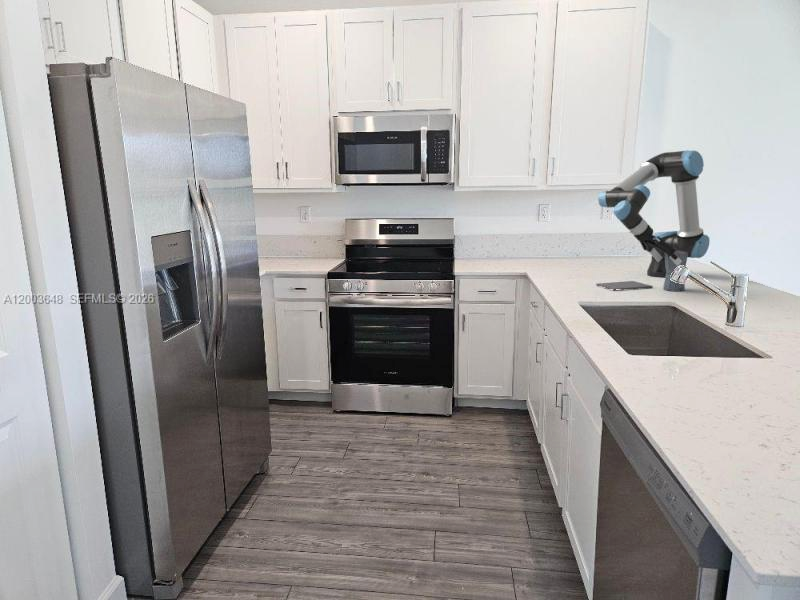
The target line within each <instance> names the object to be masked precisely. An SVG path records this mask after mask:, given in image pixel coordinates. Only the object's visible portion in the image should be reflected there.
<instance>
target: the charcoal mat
mask: <svg viewBox="0 0 800 600" xmlns="http://www.w3.org/2000/svg"><path fill="white" fill-rule="evenodd" d="M595 285H598V286H597V287H599V286H602V287H605V288H604V289H606V288H609V289H613V290H616V289H633V290H639V289H638V288H646V289H653V285H650V284H647V283H642V282H639V281H636V280H635V281H634V280H627V281H617V282H616V281H614V282H602V283H601V282H599V283H596V284H595ZM602 287H601V288H602ZM609 289H608V290H609Z"/></svg>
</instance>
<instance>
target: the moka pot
mask: <svg viewBox="0 0 800 600" xmlns="http://www.w3.org/2000/svg"><path fill="white" fill-rule="evenodd" d="M675 250H676V251H675V254H676V255H677V256H678V257H679V258H680V259H681V261H682V262H681V263H680V264H679V265H684V266H685V267H686V266H687V261H688V258H689V257H688V253H687V252H684V251H679V250H678V247H675ZM664 256H665V268H666V277H664V283H663V288H662V289H663V290H664V291H668V292H683V291H685V290H686V286H685V283H684V284H679V283H675V282H673V281H671V280H670V275H671V273H672V272H673V271H674V269H675V268H676V267H677V265H676V264H675V263H674V262H673V261H672V260H671V259H670V258H669V257H668V254H666V253H664ZM679 265H678V266H679Z"/></svg>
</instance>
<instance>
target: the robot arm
mask: <svg viewBox="0 0 800 600" xmlns="http://www.w3.org/2000/svg"><path fill="white" fill-rule="evenodd" d="M701 154H702V153H700V152H699V151H697V150H687V149H686V150H678V151H667V152H661V153H659V154H658V155H655V156H653V157H651V158H649V159H647V160H646V161H645V162H643V163H642V164H641V165H640V166H639V168H638V170H636V171H634V172H633V173H631V174H630V175H629V176H628V177H627V178H625V179H624V180H623V181H621V182H620V183H618V184H617V185H615V187H613V188H612V189H611V190H605V191H601V192H600V193H599V195H598V199H597V201H598V205H599V206H600V208H601V207H602V208H612V212H613V214H614V216H615V217H616V218H617V220H618V221H619V222H620V223H622V225H623V226H624V227H625V228H626V229H627V230H628V231H629V233H630V234H632V235H633V237H634V238H635V239H636V240H637V241H638V242H639V243H640V244H641V247H642V249H643V251H646V252H647V253H649V254H650V255H651V261H650V264H649V266H648V268H647V270H646V275H647V276H651V277H656V278H665V277H666V268H665V256H664V253H666V254H668V257H669V258H670V259H671V260H672V261H673V262H674V263H675V264H676V265H677V266H678V265H679V264H680V263H681V262H682V261H681V259H680V258H679V257H678V256H677V255H676V254H675V251H676V250H675V247H678V250H679V251H684V252H687V253H688V257H687V258H691V259H701V258H703V257H704V256H705V255H706V254H707V252H708V249H709V246H710V236H709V235H707V234H704V228H701V227H700V220H699V219H700V217H699V216H700V215H699V207H698V195H697V193H698V192H697V183H696V182H697V181H698V179H699V178H700V175H701V174H702V172H703V171H704V166H705V165H704V158H703V156H702V155H701ZM665 177H666V178H667V177H668V178H671V183H673V184H674V185H675V191H676V192H675V193H676V195H675V196H676V204H677V212H678V214H677V215H678V222H679V224H678V225H679V230H671V231H662V232H656V233H654V229H653V227H652V226H651V225H650V224H649V223H648V222H647V221H646V220H645V218H644V217H642V215H641V214H640V212H641V211H642V209H643V207H644V206H645V204H646V203H647V202H648V200H649V198H650V196H651V190H650V189H649V188H648V187H647V186H645V185H646V184H647V183H648V182H652V181H655V180H656V179H657V178H665Z"/></svg>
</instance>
